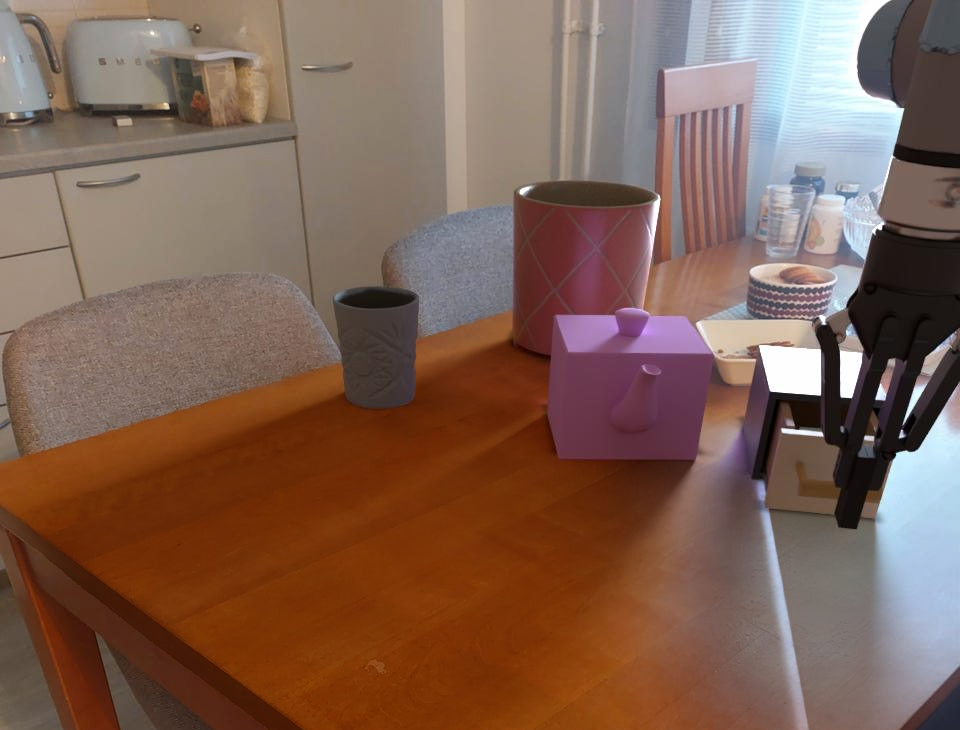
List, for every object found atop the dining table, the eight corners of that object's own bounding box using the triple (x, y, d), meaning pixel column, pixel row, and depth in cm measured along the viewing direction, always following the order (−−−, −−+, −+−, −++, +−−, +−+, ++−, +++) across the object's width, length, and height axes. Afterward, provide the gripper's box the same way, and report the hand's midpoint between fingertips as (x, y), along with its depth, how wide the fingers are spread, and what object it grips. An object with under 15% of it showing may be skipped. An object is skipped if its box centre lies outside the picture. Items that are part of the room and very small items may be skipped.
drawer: (886, 548, 84) (911, 470, 80) (769, 536, 86) (788, 458, 81) (853, 460, 100) (872, 390, 95) (755, 452, 101) (769, 382, 97)
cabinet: (864, 489, 96) (890, 401, 91) (751, 479, 98) (769, 391, 92) (843, 434, 108) (865, 353, 102) (742, 426, 109) (758, 345, 104)
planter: (480, 345, 131) (483, 191, 119) (561, 317, 143) (571, 175, 131) (589, 379, 121) (604, 214, 109) (666, 345, 133) (688, 194, 121)
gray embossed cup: (353, 415, 109) (347, 312, 102) (328, 386, 117) (321, 288, 110) (433, 404, 113) (432, 303, 106) (404, 377, 120) (401, 281, 113)
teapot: (566, 488, 95) (577, 353, 87) (543, 398, 115) (551, 281, 107) (711, 489, 95) (736, 354, 87) (663, 399, 116) (680, 283, 107)
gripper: (843, 233, 63) (771, 534, 77) (1043, 245, 62) (934, 550, 76) (828, 211, 70) (764, 494, 83) (1010, 222, 68) (914, 509, 82)
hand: (845, 521), depth 79 cm, fingers closed
